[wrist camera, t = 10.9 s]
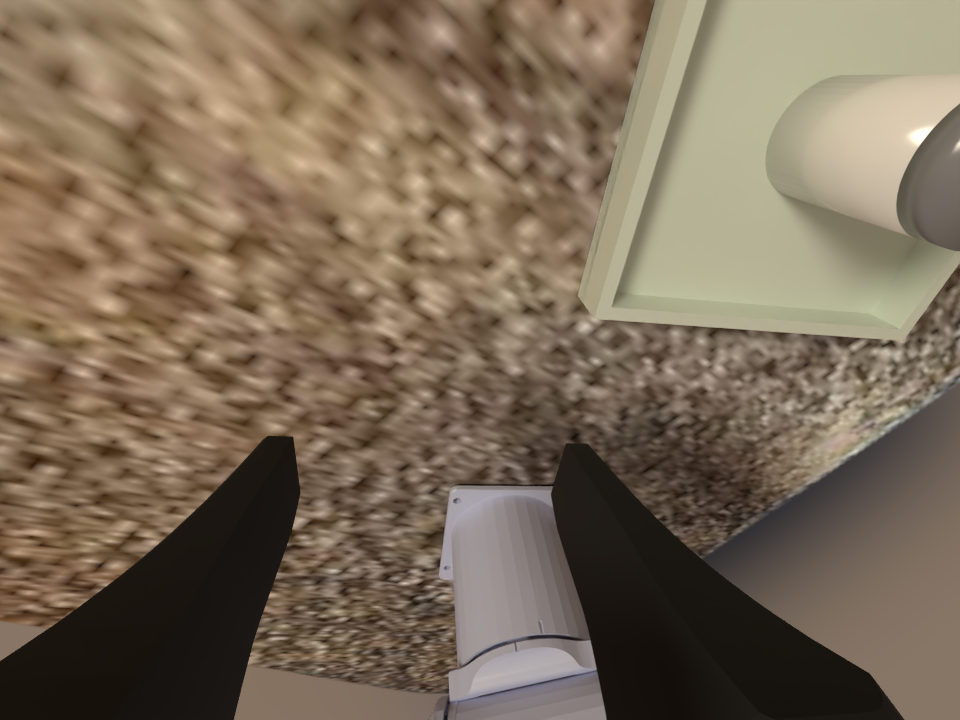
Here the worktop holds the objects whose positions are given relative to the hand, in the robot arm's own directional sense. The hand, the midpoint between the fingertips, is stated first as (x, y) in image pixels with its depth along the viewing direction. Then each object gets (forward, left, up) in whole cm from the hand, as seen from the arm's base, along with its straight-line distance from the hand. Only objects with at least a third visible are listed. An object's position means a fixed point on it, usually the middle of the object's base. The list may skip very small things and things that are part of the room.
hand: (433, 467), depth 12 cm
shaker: (+9, -15, -10) cm, 20 cm away
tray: (+9, -15, -10) cm, 20 cm away
